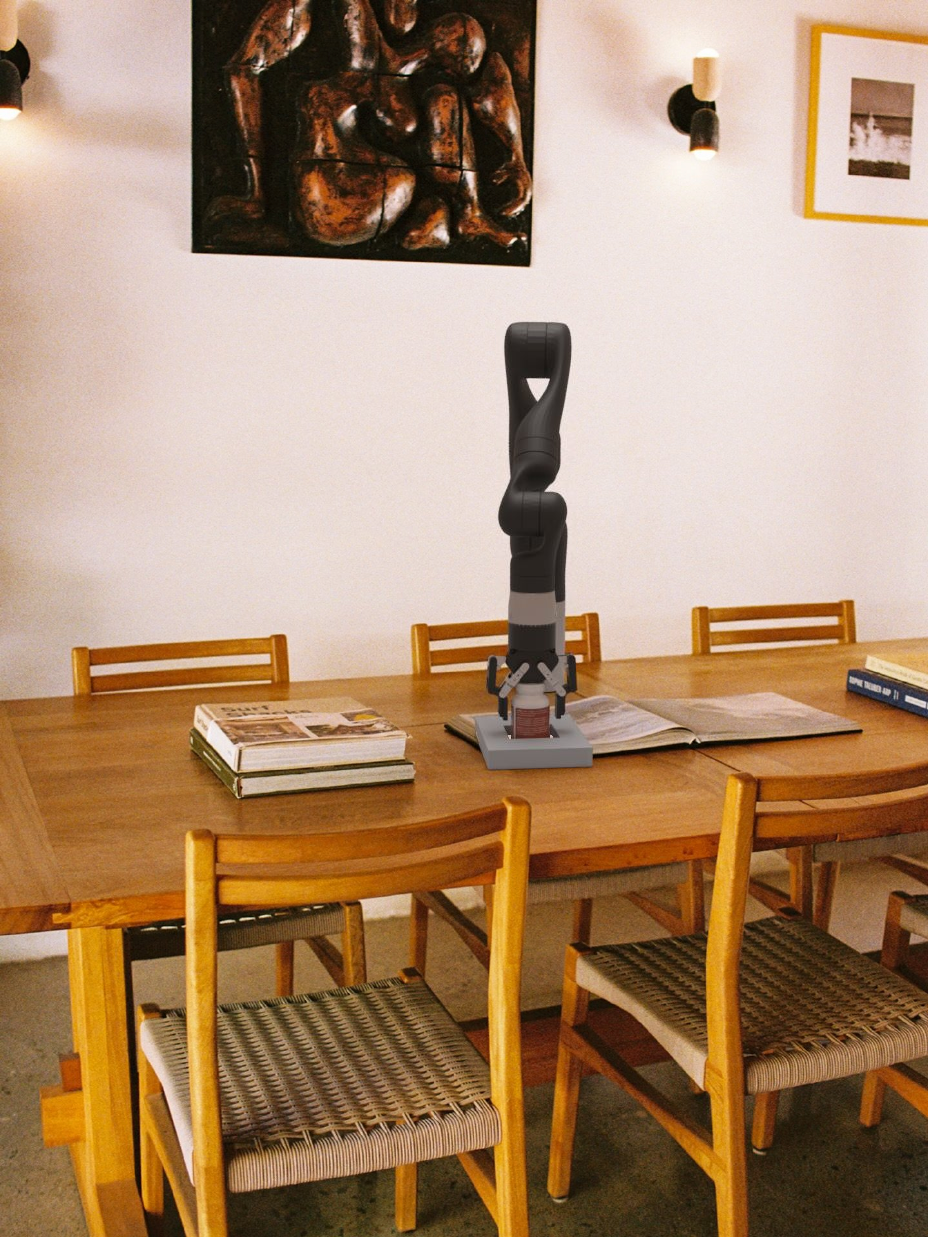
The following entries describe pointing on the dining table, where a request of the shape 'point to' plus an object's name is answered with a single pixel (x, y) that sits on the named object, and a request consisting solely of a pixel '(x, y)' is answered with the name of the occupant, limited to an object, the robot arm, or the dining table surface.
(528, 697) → the pill bottle
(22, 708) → the dining table surface
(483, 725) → the socket board
